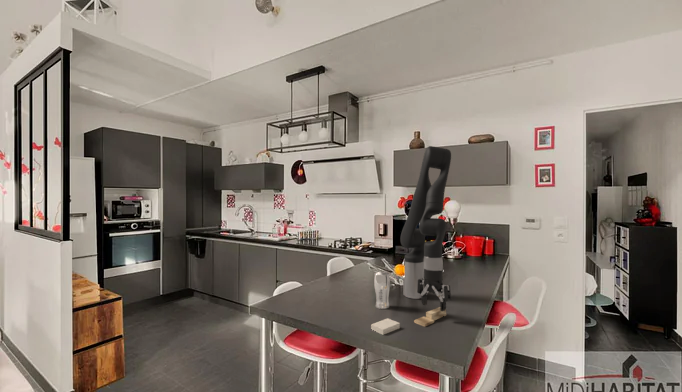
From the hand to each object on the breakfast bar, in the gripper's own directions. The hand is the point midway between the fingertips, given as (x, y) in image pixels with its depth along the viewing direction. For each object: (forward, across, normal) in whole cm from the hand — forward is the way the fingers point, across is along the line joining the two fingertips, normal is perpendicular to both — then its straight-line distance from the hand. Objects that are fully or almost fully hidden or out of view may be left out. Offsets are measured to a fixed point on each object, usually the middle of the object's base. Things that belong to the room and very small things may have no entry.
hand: (433, 307), depth 125 cm
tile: (+3, -5, -18) cm, 19 cm away
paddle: (+4, +1, -2) cm, 5 cm away
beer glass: (+4, -22, -7) cm, 24 cm away
